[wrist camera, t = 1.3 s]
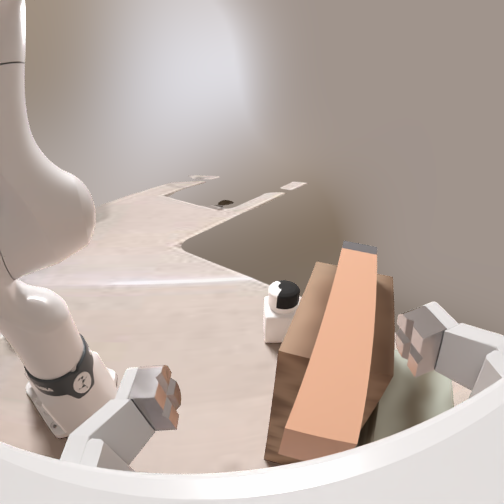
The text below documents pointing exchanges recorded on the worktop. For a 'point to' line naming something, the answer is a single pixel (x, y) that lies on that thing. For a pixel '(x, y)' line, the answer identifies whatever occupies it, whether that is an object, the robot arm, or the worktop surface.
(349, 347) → the peach rectangular bar
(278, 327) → the medicine bottle
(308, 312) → the stand
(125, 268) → the worktop surface
